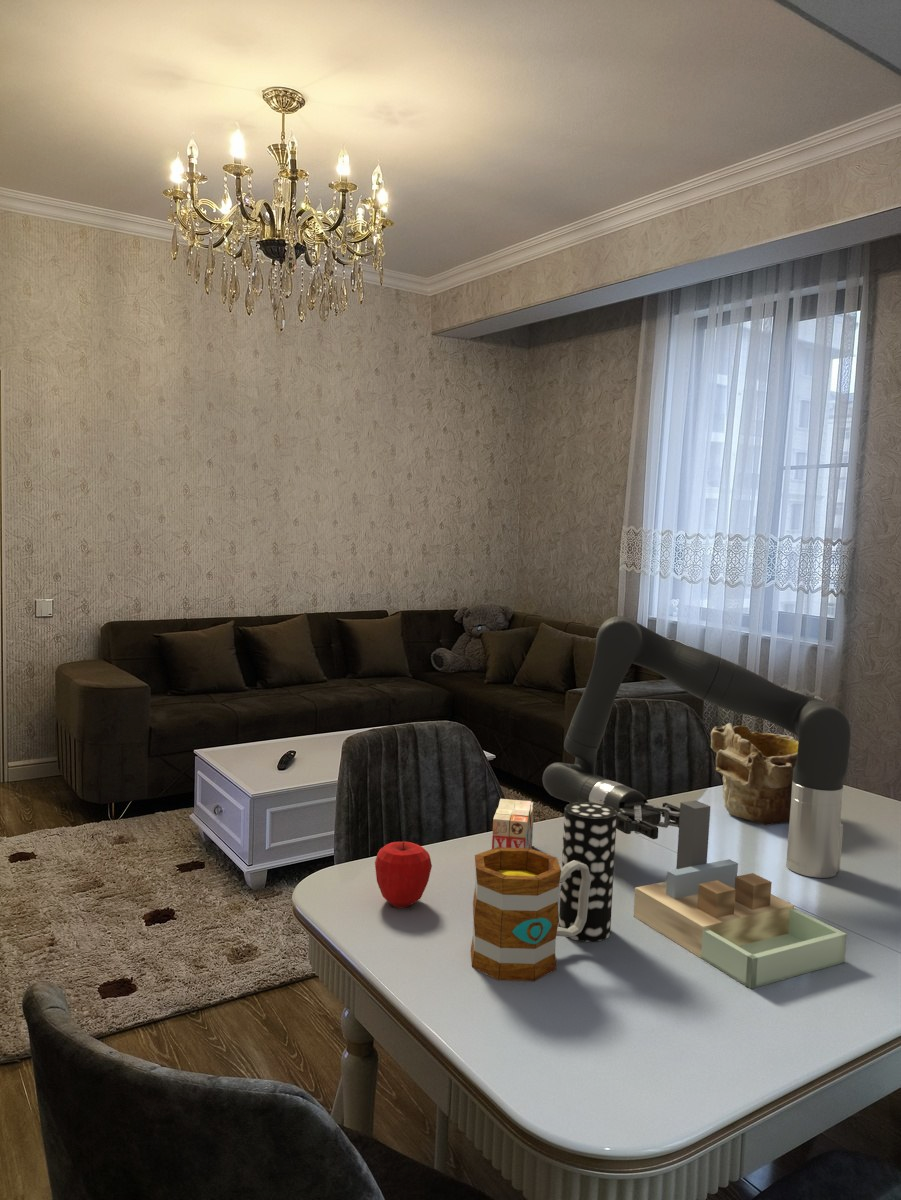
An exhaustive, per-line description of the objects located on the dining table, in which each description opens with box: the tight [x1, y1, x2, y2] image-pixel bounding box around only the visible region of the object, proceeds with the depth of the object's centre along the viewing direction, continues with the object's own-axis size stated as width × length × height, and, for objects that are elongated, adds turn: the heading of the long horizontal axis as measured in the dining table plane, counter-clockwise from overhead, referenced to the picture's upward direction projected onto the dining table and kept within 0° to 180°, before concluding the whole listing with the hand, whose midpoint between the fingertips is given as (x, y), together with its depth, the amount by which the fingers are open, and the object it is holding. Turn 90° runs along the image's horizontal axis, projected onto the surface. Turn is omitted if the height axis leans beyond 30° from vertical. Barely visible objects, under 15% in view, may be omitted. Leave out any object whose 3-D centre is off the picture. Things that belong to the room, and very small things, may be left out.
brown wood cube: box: [734, 872, 772, 910], centre depth 146 cm, size 4×4×4 cm
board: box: [633, 880, 795, 959], centre depth 148 cm, size 20×16×5 cm
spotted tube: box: [558, 802, 617, 943], centre depth 144 cm, size 8×8×20 cm
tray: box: [700, 907, 848, 990], centre depth 137 cm, size 20×10×4 cm, turn 118°
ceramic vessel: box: [710, 722, 799, 826], centre depth 206 cm, size 23×24×25 cm
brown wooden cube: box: [697, 880, 736, 918], centre depth 142 cm, size 4×4×4 cm
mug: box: [470, 847, 591, 982], centre depth 134 cm, size 20×14×15 cm
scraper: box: [666, 800, 739, 899], centre depth 151 cm, size 14×6×14 cm, turn 118°
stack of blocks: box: [491, 798, 534, 849], centre depth 172 cm, size 21×6×12 cm, turn 171°
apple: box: [374, 841, 433, 909], centre depth 152 cm, size 10×10×11 cm
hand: (675, 830), depth 156 cm, fingers open, 8 cm apart
